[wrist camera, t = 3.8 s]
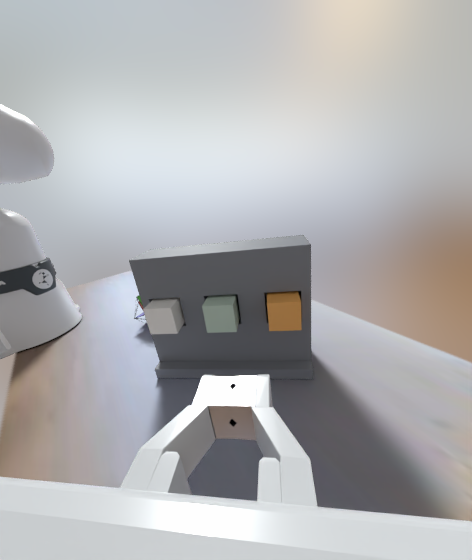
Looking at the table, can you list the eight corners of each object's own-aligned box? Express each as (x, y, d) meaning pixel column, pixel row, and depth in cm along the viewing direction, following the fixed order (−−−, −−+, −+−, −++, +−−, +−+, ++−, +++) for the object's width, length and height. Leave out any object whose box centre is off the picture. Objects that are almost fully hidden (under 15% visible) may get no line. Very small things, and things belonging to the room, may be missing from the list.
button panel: (157, 378, 30) (121, 264, 24) (177, 344, 36) (151, 248, 31) (313, 379, 27) (313, 247, 21) (304, 342, 33) (302, 234, 27)
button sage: (207, 332, 25) (202, 306, 24) (213, 318, 28) (208, 294, 27) (236, 331, 25) (232, 305, 24) (239, 317, 28) (236, 292, 26)
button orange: (269, 331, 24) (267, 303, 23) (269, 316, 27) (267, 291, 26) (301, 330, 24) (301, 301, 23) (298, 315, 26) (297, 289, 25)
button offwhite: (150, 334, 27) (142, 309, 25) (161, 320, 29) (155, 297, 28) (177, 333, 26) (170, 307, 25) (186, 319, 29) (180, 296, 28)
